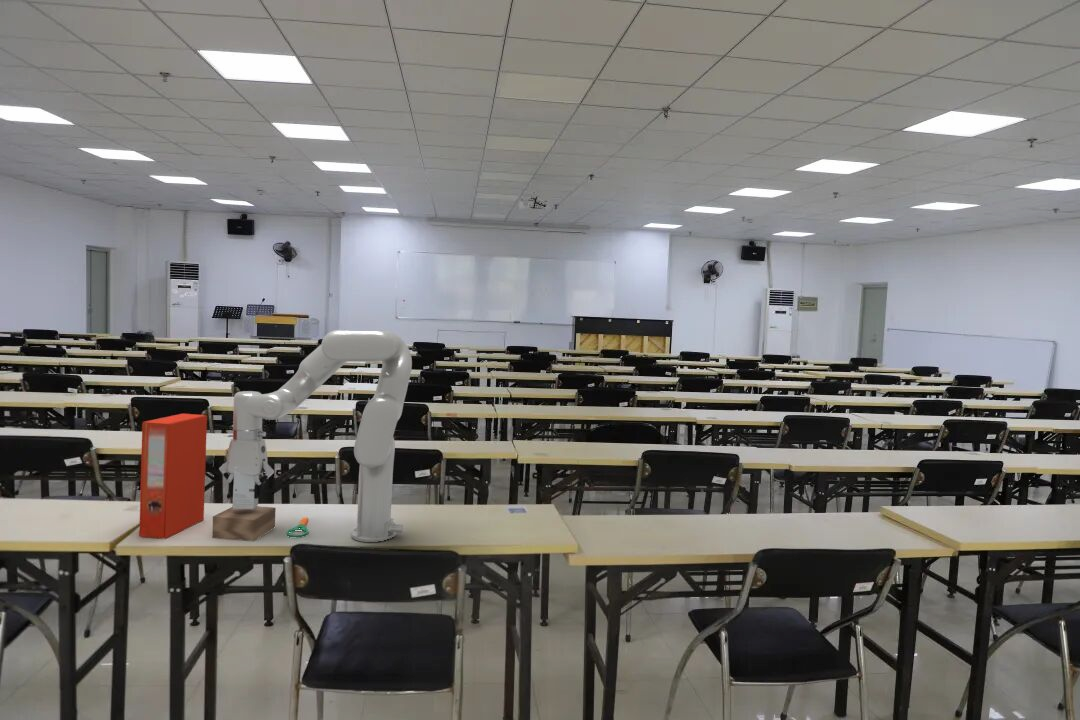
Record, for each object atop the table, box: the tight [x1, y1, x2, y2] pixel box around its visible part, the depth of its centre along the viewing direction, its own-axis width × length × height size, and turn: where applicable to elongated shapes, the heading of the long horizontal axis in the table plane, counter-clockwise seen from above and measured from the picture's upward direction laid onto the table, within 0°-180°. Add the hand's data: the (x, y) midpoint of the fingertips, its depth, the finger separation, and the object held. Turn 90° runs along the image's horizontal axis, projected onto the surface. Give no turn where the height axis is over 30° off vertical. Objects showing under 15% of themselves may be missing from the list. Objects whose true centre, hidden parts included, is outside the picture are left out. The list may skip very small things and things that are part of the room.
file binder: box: [138, 413, 208, 540], centre depth 184 cm, size 8×17×32 cm, turn 176°
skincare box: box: [231, 467, 259, 509], centre depth 183 cm, size 6×4×12 cm
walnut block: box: [211, 505, 277, 541], centre depth 184 cm, size 12×12×6 cm
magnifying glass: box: [285, 516, 310, 538], centre depth 189 cm, size 15×6×2 cm, turn 10°
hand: (246, 496), depth 183 cm, fingers closed on skincare box, 6 cm apart
